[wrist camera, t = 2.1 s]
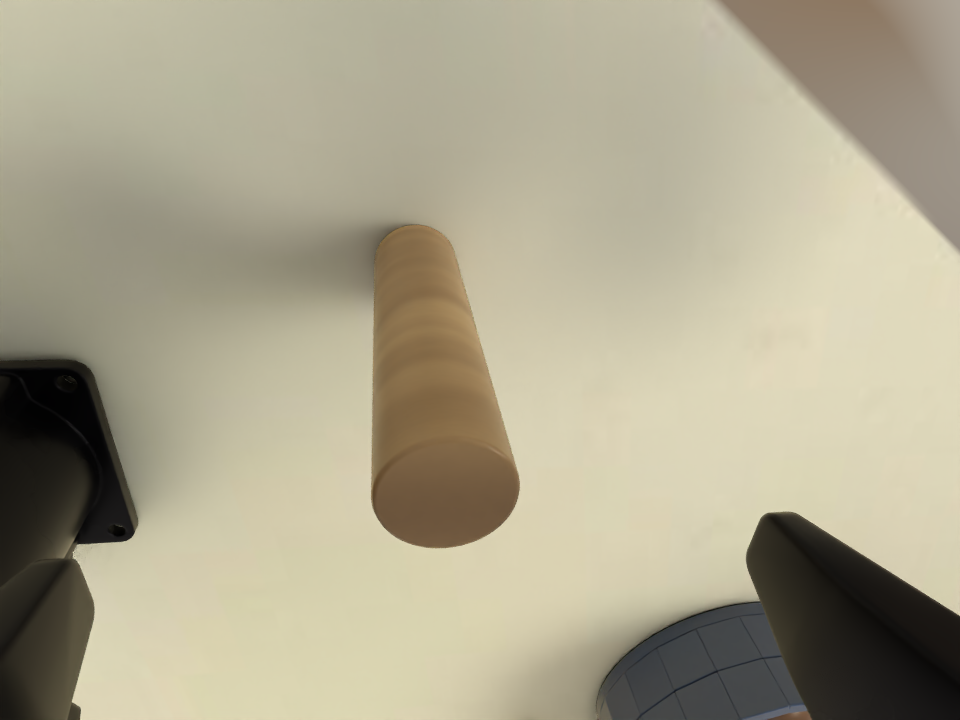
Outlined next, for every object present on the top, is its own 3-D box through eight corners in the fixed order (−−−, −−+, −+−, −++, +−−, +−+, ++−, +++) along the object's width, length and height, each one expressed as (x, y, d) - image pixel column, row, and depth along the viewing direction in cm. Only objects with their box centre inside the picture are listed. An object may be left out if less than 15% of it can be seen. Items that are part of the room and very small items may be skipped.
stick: (373, 222, 16) (369, 442, 8) (457, 224, 16) (528, 436, 9) (375, 300, 17) (372, 555, 9) (454, 299, 17) (514, 545, 10)
